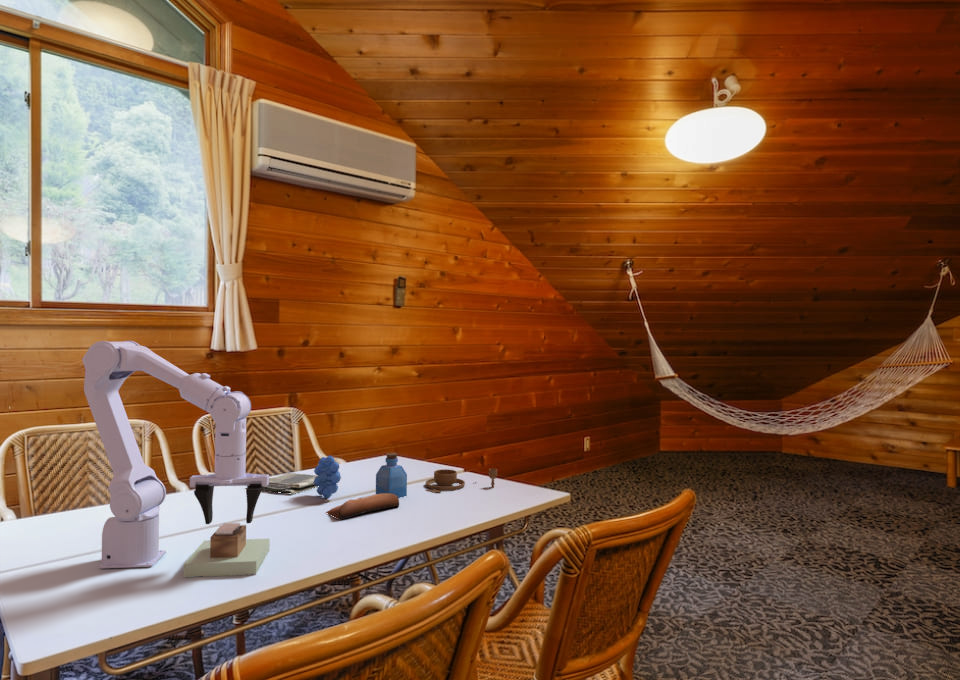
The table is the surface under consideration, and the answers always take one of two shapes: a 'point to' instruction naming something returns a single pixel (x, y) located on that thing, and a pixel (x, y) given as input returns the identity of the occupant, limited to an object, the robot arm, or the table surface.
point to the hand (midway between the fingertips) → (229, 522)
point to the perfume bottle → (391, 477)
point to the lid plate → (228, 529)
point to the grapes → (327, 476)
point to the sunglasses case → (364, 505)
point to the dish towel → (290, 483)
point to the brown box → (228, 544)
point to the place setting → (451, 480)
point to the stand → (227, 560)
